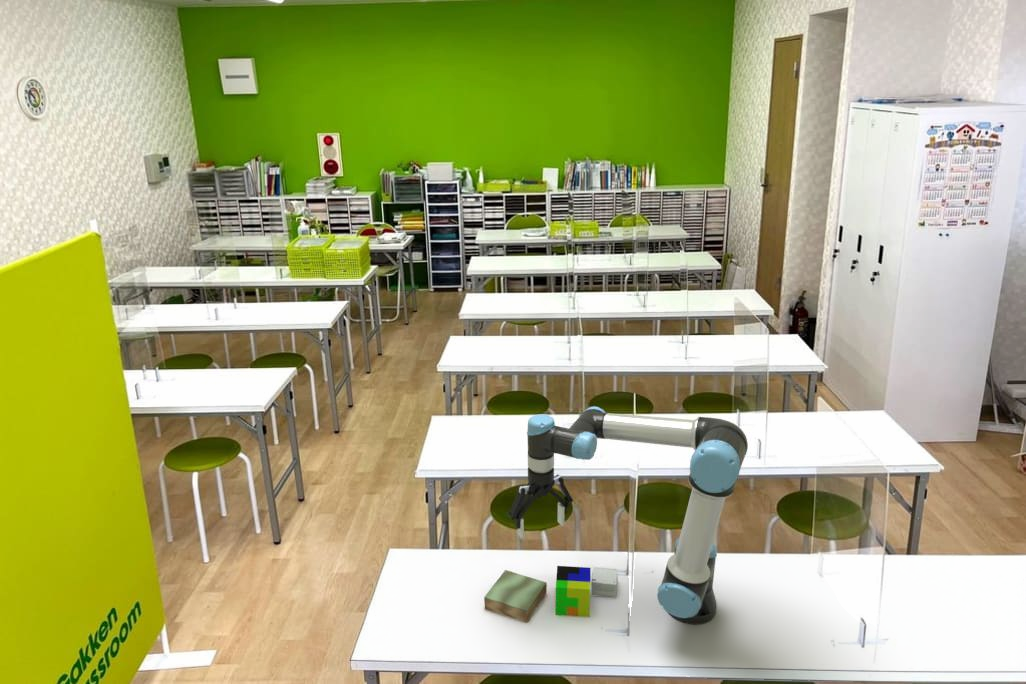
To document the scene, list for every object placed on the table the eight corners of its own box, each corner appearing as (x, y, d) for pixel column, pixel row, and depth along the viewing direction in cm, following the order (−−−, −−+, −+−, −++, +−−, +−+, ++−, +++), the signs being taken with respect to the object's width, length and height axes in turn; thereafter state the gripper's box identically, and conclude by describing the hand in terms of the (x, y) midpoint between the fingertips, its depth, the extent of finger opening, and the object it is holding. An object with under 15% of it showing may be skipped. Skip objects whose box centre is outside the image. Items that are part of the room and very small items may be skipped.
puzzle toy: (589, 594, 234) (590, 567, 230) (589, 617, 225) (590, 589, 221) (556, 592, 235) (557, 565, 231) (555, 615, 226) (555, 587, 222)
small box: (617, 581, 240) (618, 568, 238) (616, 598, 232) (617, 584, 231) (592, 579, 241) (592, 565, 239) (590, 595, 234) (591, 581, 232)
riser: (546, 593, 234) (546, 582, 233) (527, 622, 222) (527, 610, 221) (505, 581, 240) (505, 569, 238) (484, 608, 228) (484, 597, 227)
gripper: (571, 451, 227) (570, 512, 235) (495, 471, 217) (497, 535, 224) (585, 462, 221) (583, 525, 228) (507, 483, 211) (508, 548, 218)
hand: (540, 530), depth 226 cm, fingers open, 13 cm apart
